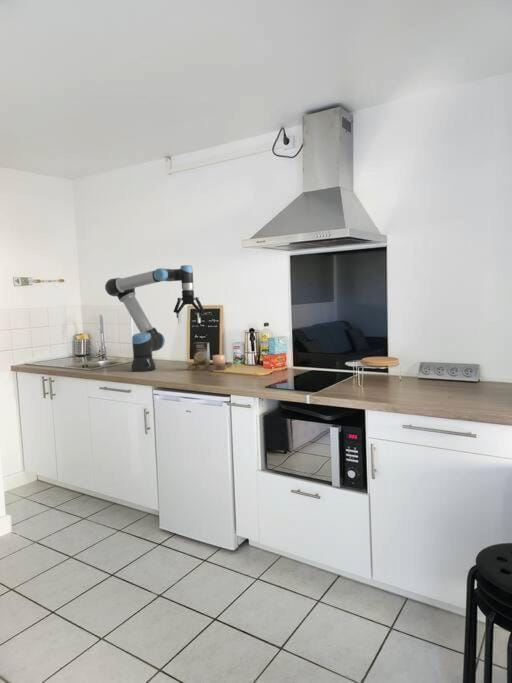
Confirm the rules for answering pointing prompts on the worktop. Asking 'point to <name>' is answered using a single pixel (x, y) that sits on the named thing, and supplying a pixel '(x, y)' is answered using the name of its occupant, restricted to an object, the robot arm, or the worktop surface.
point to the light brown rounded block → (218, 360)
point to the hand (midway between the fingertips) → (189, 323)
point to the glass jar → (201, 353)
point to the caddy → (210, 367)
